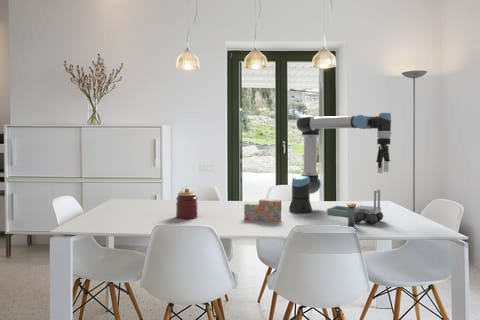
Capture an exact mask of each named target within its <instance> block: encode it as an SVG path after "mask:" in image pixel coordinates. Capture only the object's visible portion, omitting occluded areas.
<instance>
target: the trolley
mask: <svg viewBox="0 0 480 320" xmlns="http://www.w3.org/2000/svg"><path fill="white" fill-rule="evenodd" d="M381 210H382V207H381V189H377V190H374V192H373V206H371V205H370V206H369V205H361V204H360V205H358V206H356V207H355V212H356V213H355V224H360V223H361V222H363V220H365V223H366V224H367V225H369V226H374V225H375V224H377V222H380V221H382V220H383V219H384V214H383V212H382V211H381Z"/></svg>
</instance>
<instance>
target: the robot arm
mask: <svg viewBox="0 0 480 320" xmlns="http://www.w3.org/2000/svg"><path fill="white" fill-rule="evenodd" d="M391 125H392V114H391V113H390V112H379V113H378V114H377V115H376V116H367V115H363V114H357V115H340V116H339V115H336V116H315V115H309V114H303V115H301V116H299V117H298V118H297V121H296V128H297V129H298V130H299V131H300V132H301V136H302V137H303V172H302V173H301V175H299V176H298V175H296V176H293V178H292V179H291V202H290V205H289V208H288V211H289V212H290V213H294V214H310V213H312V212H313V207H312V204H311V201H310V199H311V198H310V194H315V193H317V192H319V190H320V188H321V185H322V184H321V180H320V179H319V173H318V172H317V149H318V148H317V143H318V142H317V141H318V139H317V138H318V137H319V136H320V131H321V130H325V129H327V130H328V129H329V130H330V129H361V130H362V129H363V130H365V129H366V130H369V129H375V130H377V134H376V135H377V140H376V144H377V145H378V151H377V157H376V163H377V174H383V173H388V172H389V163H390V162H391V160H390V151H389V148H390V147H389V145H391V135H392V132H391V131H392V130H391V128H392V127H391Z"/></svg>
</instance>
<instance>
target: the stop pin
mask: <svg viewBox="0 0 480 320" xmlns="http://www.w3.org/2000/svg"><path fill="white" fill-rule="evenodd" d="M346 207H348V217H347V227H350V226H352V227H355V226H356V223H355V207H357V204H356V203H347V206H346Z"/></svg>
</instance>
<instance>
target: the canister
mask: <svg viewBox="0 0 480 320" xmlns="http://www.w3.org/2000/svg"><path fill="white" fill-rule="evenodd" d="M197 200H198V197H197V193H195V191H190V189H189V188H187V187H186V188H185V189H184V191H180V192H178V193H177V197H176V203H175V204H176V207H175V209H176V211H175V212H176V213H175V215H176V218H177V219H180V220H181V219H182V220H189V219H191V220H192V219H196V218H198V201H197Z"/></svg>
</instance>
